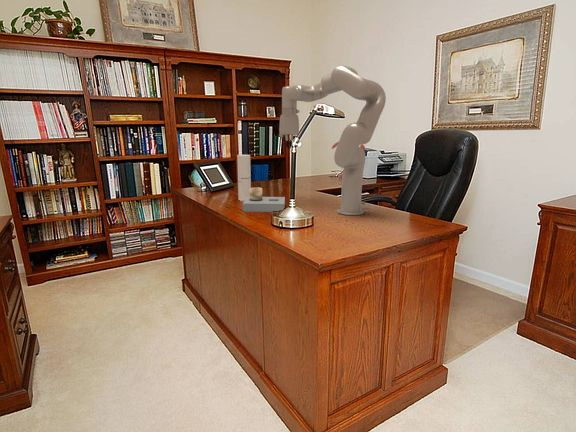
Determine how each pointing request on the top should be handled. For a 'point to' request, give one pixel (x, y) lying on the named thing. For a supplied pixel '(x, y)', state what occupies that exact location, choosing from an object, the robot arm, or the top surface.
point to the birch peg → (256, 194)
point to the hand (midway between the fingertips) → (289, 148)
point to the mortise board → (264, 204)
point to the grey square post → (243, 176)
